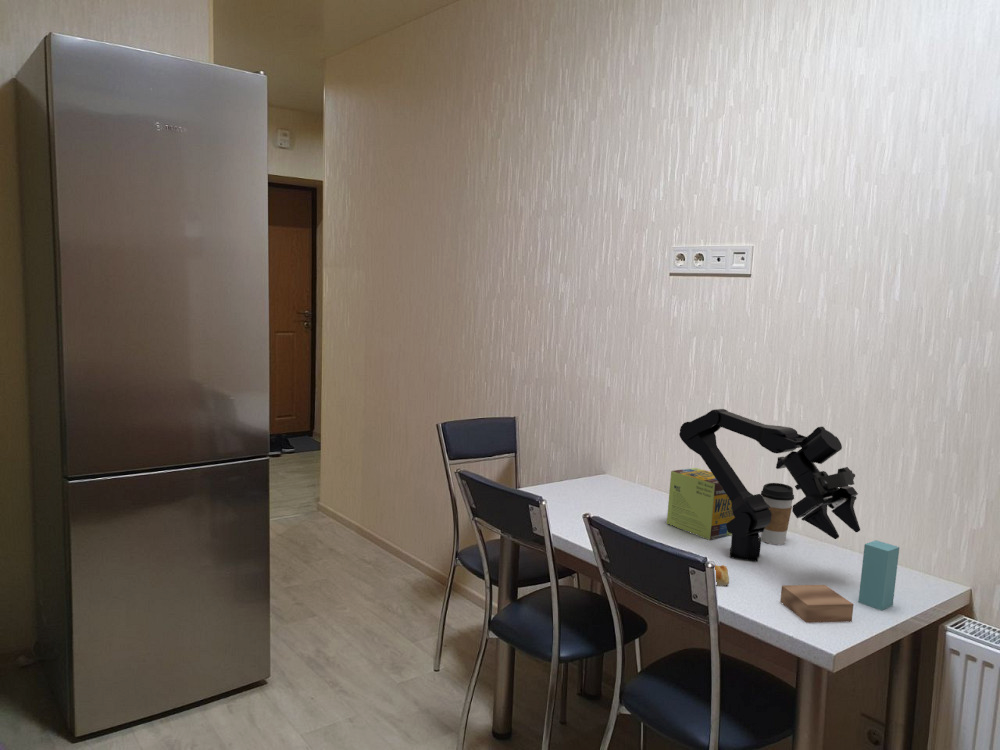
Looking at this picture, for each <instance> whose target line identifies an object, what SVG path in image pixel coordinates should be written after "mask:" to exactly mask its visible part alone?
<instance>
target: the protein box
mask: <svg viewBox="0 0 1000 750" xmlns="http://www.w3.org/2000/svg"><path fill="white" fill-rule="evenodd" d="M669 481H670V482H669V492H668V493H669V494H668V502H667V503H668V505H667V515H666V516H667V517H666V525H668V524H670V525H669V526H671V525H673V526H675V527H674V528H676V527H677V529H679V528H680V529H679V530H681V529H683V530H682V531H684V530H686V531H685V532H687V531H689V532H691V533H690V534H692V533H694V534H693V535H695V534H697V535H699V536H698V537H700V536H702V537H701V538H703V537H704V538H703V539H705V538H707V539H706V540H708V539H709V541H712V540H715V539H720V538H724V537H729V536H732V533H729V532H728V531H727V526H726V524H727V523H728V522H729V521H731V520H732V519H734V518H735V517H734V515H733V512H732V503H731V500H730V499H729V497H728V496H727V494H726V493H725V491H724V490H723V488H722V487H721V485H720V484H719V482H718V481H717V480H716V478H715V477H714V475H713V474H712V472H711V471H710V470H709V471H708V470H705V469H701V468H697V467H691V468H684V469H677V470H676V469H675V470H671V471H670V480H669ZM673 526H672V527H673ZM689 532H688V533H689ZM697 535H696V536H697ZM728 535H729V536H728ZM711 539H712V540H711Z"/></svg>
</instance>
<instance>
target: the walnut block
mask: <svg viewBox="0 0 1000 750" xmlns="http://www.w3.org/2000/svg"><path fill="white" fill-rule="evenodd" d="M780 594H781V595H780V603H781V604H782V603H783V604H782V605H783V606H785V607H786V608H787V609H789V610H790V611H791V612H792V611H793V612H792V613H793V614H795V615H796V616H797V617H799V619H801V620H802V621H804V622H805V623H806V624H807V623H811V624H812V623H838V622H840V623H842V622H843V623H844V622H846V621H849V622H850V621H851V622H852V621H853V612H854V603H852V602H851V601H850V600H848V599H846V597H843V596H842V595H841V594H840V593H837V591H835V590H833V589H832V588H831V587H829V586H828V585H827V584H801V585H800V584H798V585H796V584H795V585H794V584H791V585H785V584H784V585H781V590H780Z"/></svg>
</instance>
